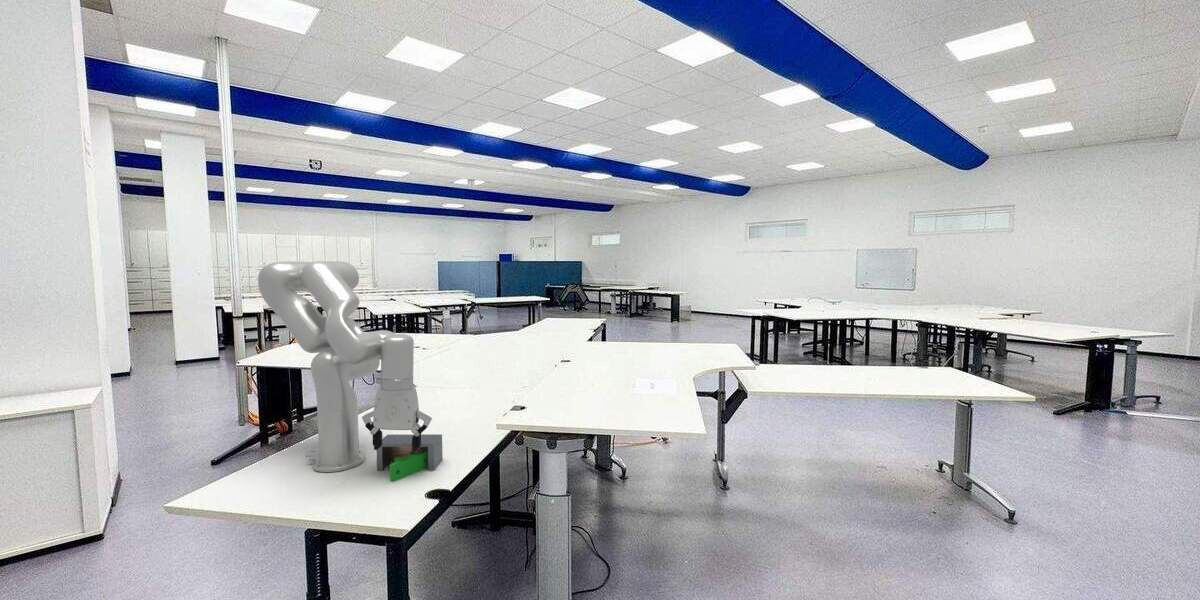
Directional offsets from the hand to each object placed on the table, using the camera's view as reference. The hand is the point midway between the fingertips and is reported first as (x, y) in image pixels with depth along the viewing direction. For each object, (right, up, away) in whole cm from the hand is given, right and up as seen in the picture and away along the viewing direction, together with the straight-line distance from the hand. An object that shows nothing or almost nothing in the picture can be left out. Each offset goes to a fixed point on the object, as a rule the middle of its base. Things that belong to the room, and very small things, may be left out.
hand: (396, 448), depth 118 cm
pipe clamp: (+2, -7, +2) cm, 8 cm away
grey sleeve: (+1, -7, +6) cm, 9 cm away
